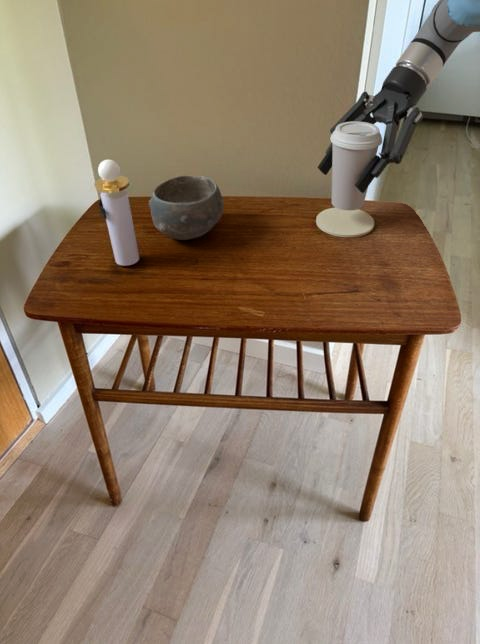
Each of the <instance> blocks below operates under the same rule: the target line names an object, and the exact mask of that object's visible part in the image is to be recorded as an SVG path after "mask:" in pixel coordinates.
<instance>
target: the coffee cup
mask: <svg viewBox="0 0 480 644" xmlns="http://www.w3.org/2000/svg"><path fill="white" fill-rule="evenodd" d="M329 140H330V142H331V143H333V154H332V167H331V204H332V206H333V208H334V207H336V208H338V209H341V210H357V209H359V210H361V208H363V207H364V204H365V200H366V197H367V193H368V189H369V187H368V188H367V189H366V190H365V192H364V193H362V192H360V191H359V190H358V188H357V187H356V186H355V184H356V183H357V181H358V180H359V178H360V177H361V175H362V174H363V173H364V171H365V170H366V168H367V167H368V165H369V164H370V163H371V161H372V160H373V158H374V157H375V155H378V150H379V148H380V147H379V146H382V145H383V137H382V134H381V131H380V127H378V125H376V124H371V123H367V122H358V121H353V122H345V123H341V124H339V125H337V127H336V129H335V131H334V132H333V133H332V134H331V135H330V139H329Z"/></svg>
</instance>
